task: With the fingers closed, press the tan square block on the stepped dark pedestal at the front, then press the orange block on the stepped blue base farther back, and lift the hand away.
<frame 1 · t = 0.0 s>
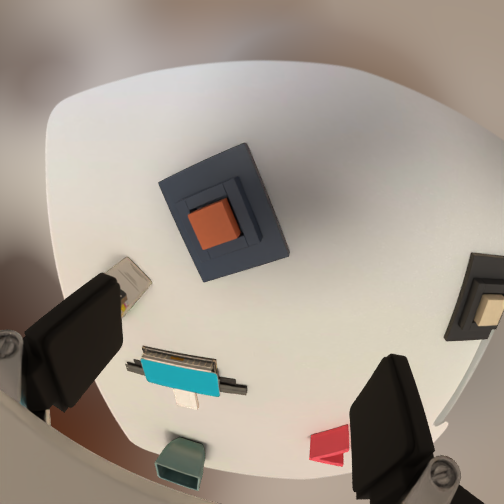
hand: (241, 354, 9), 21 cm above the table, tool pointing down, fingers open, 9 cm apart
stepped blue base: (224, 215, 30), on the table
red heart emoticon: (351, 433, 40), on the table
ink box: (126, 286, 36), on the table
stepped dark pedestal: (480, 298, 28), on the table
tan square block: (490, 310, 25), point 3 cm above the table, slide at 0.1 cm
orange block: (214, 224, 27), point 4 cm above the table, slide at 0.1 cm
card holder: (183, 380, 41), on the table
flower pot: (191, 444, 48), on the table
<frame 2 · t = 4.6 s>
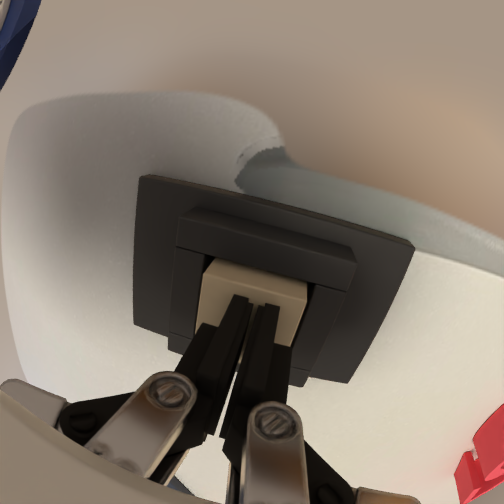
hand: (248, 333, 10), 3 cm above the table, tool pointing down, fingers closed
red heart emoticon: (491, 440, 16), on the table
stepped dark pedestal: (258, 286, 13), on the table
tan square block: (248, 317, 11), point 3 cm above the table, slide at -0.2 cm, touching gripper
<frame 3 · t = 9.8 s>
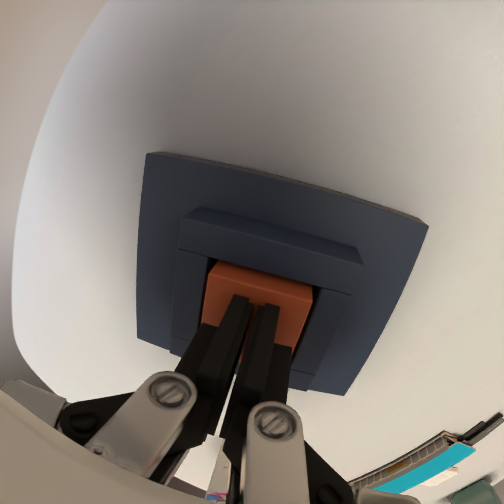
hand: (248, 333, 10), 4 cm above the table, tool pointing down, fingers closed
stepped blue base: (263, 283, 13), on the table
ink box: (262, 458, 20), on the table
orange block: (253, 316, 11), point 3 cm above the table, slide at -0.6 cm, touching gripper
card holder: (421, 468, 19), on the table
flower pot: (470, 486, 21), on the table
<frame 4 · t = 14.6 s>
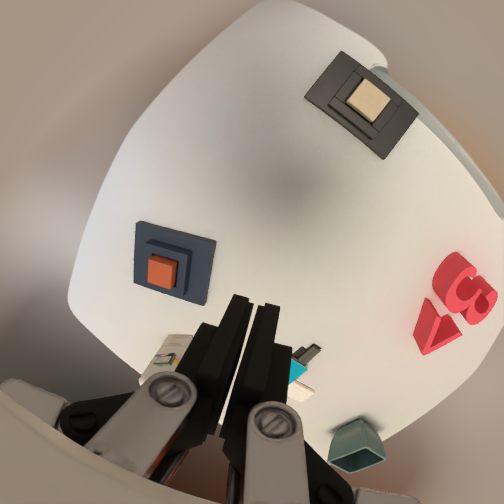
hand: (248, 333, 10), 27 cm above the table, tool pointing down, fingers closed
stepped blue base: (172, 262, 41), on the table
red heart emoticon: (442, 301, 36), on the table
ink box: (187, 353, 48), on the table
stepped dark pedestal: (363, 104, 29), on the table
tan square block: (368, 100, 27), point 3 cm above the table, slide at 0.1 cm
orange block: (162, 271, 38), point 4 cm above the table, slide at 0.1 cm
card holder: (281, 380, 46), on the table
flower pot: (355, 426, 48), on the table
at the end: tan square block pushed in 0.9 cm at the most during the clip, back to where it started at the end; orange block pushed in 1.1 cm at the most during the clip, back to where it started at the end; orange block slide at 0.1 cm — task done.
